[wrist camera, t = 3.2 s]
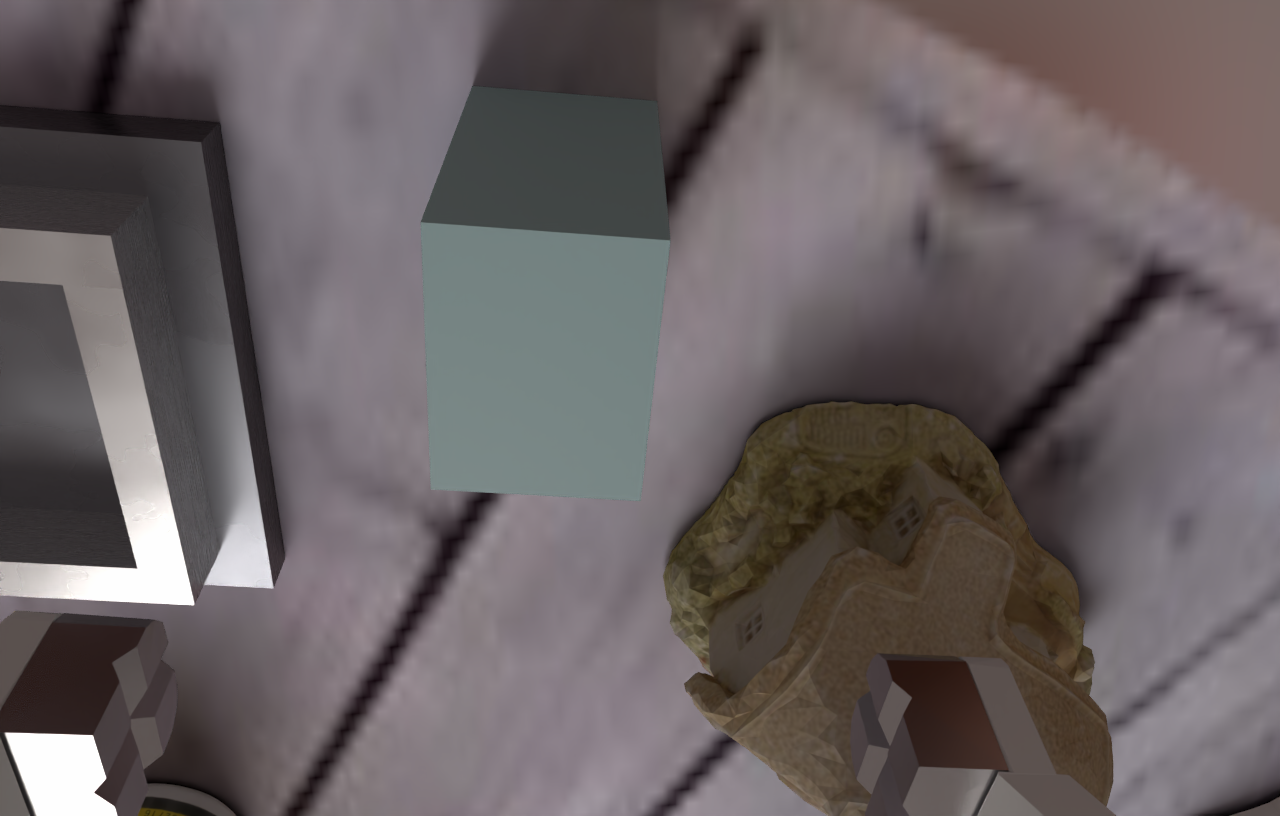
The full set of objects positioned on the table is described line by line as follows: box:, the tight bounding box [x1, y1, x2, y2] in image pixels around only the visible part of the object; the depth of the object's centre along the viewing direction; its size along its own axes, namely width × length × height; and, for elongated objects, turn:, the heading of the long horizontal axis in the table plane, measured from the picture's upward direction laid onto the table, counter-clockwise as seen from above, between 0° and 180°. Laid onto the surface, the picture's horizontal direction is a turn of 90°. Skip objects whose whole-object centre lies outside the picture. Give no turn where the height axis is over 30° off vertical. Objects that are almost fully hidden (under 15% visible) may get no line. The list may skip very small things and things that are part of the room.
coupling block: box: [421, 86, 670, 501], centre depth 21 cm, size 4×6×7 cm
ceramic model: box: [663, 401, 1113, 816], centre depth 27 cm, size 14×11×10 cm
